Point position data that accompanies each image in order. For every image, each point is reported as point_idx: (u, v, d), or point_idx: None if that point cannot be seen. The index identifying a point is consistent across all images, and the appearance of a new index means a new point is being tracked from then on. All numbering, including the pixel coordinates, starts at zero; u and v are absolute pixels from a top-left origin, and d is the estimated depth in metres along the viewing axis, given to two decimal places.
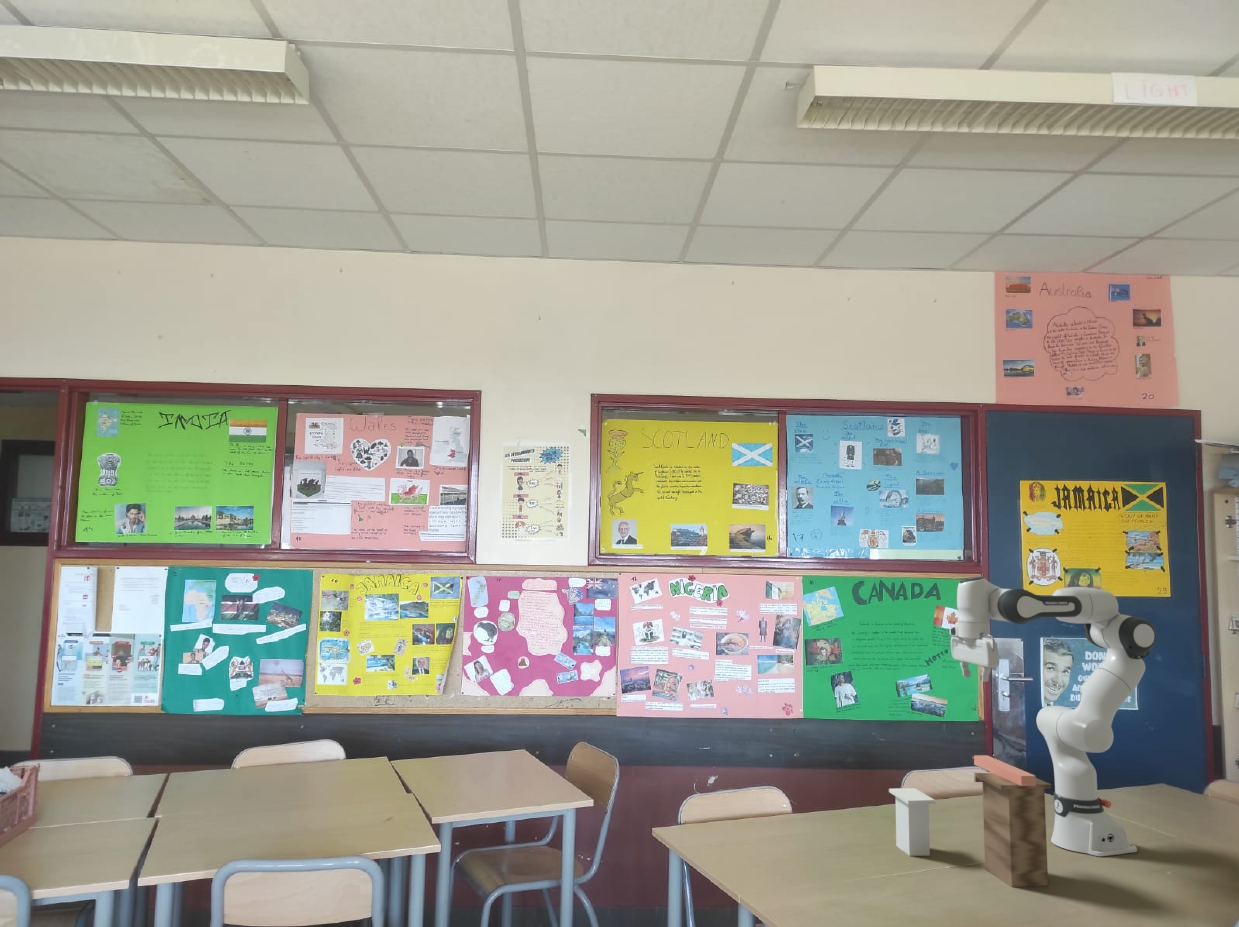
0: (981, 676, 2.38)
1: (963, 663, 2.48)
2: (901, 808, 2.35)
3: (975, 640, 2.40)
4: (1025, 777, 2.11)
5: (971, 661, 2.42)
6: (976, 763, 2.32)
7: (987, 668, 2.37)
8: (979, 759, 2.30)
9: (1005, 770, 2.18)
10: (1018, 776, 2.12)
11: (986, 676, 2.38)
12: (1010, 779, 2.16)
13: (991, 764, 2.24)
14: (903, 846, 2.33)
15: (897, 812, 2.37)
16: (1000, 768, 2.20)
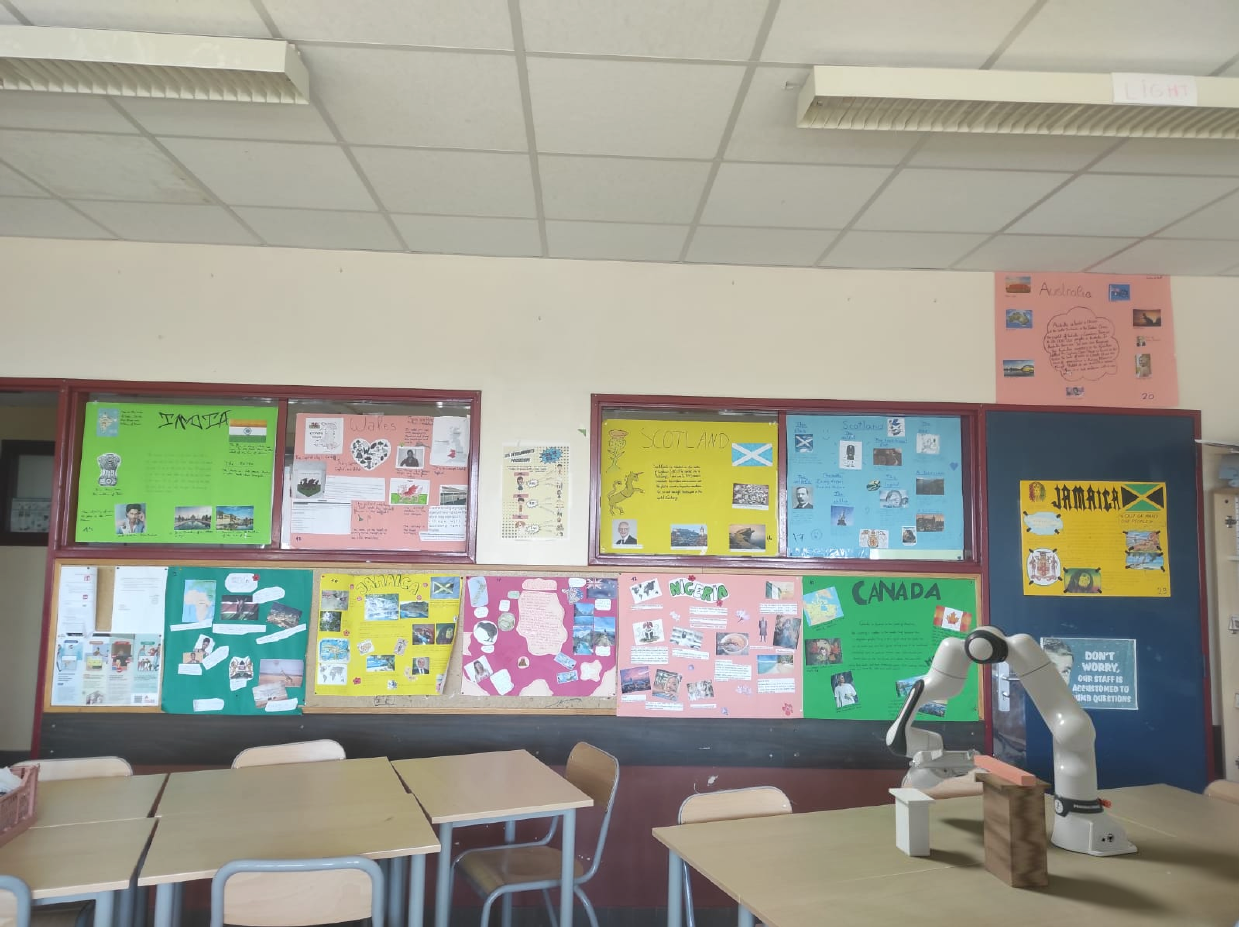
0: (942, 756, 2.45)
1: (969, 758, 2.48)
2: (901, 808, 2.35)
3: (931, 769, 2.52)
4: (1025, 777, 2.11)
5: (948, 763, 2.48)
6: (976, 763, 2.32)
7: (932, 755, 2.47)
8: (979, 759, 2.30)
9: (1005, 770, 2.18)
10: (1018, 776, 2.12)
11: (938, 752, 2.45)
12: (1010, 779, 2.16)
13: (991, 764, 2.24)
14: (903, 846, 2.33)
15: (897, 812, 2.37)
16: (1000, 768, 2.20)
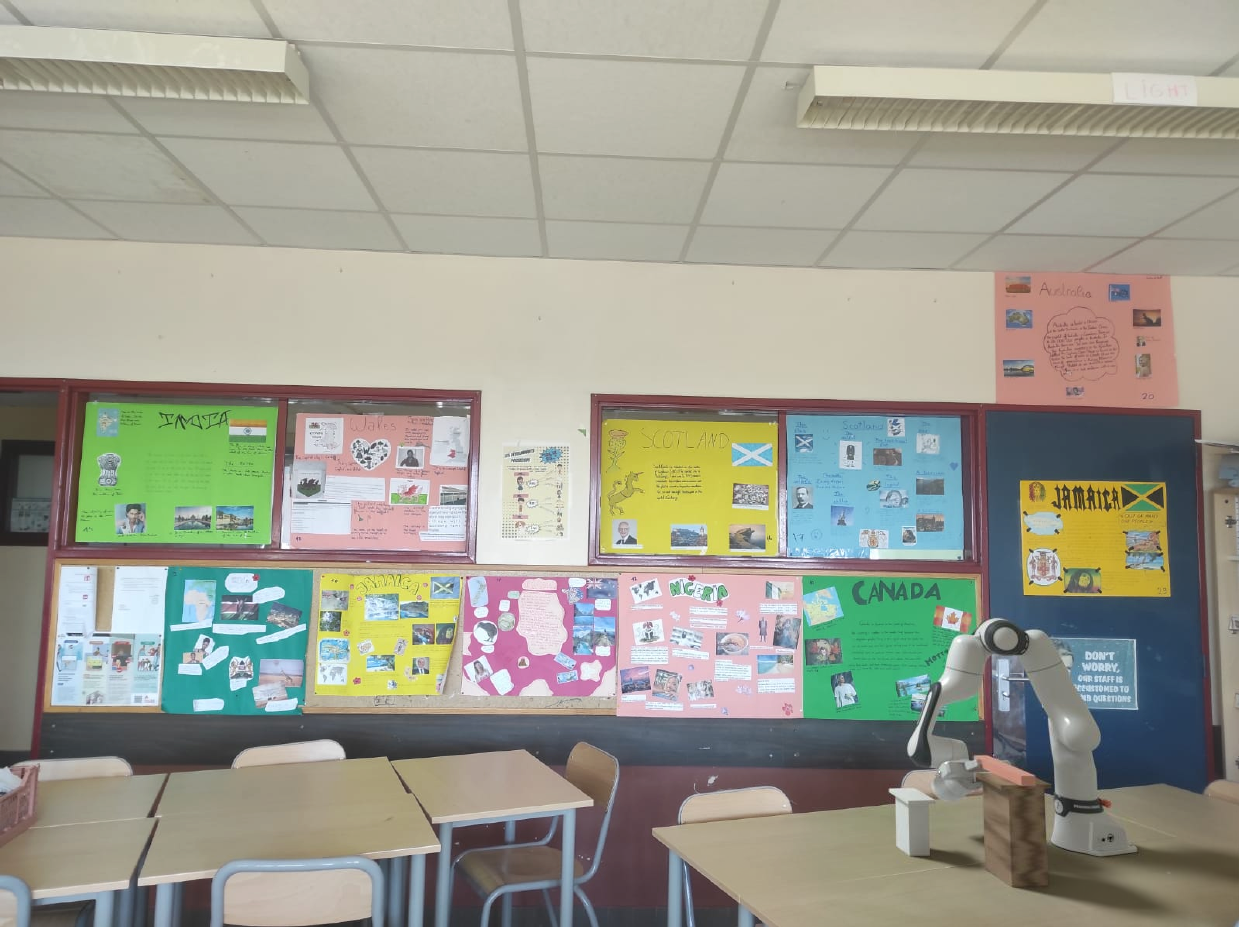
0: (977, 766, 2.30)
1: None
2: (901, 808, 2.35)
3: (959, 780, 2.37)
4: (1025, 777, 2.11)
5: None
6: None
7: (966, 766, 2.32)
8: None
9: (1005, 770, 2.18)
10: (1018, 776, 2.12)
11: (973, 762, 2.30)
12: (1010, 779, 2.16)
13: (991, 764, 2.24)
14: (903, 846, 2.33)
15: (897, 812, 2.37)
16: (1000, 768, 2.20)
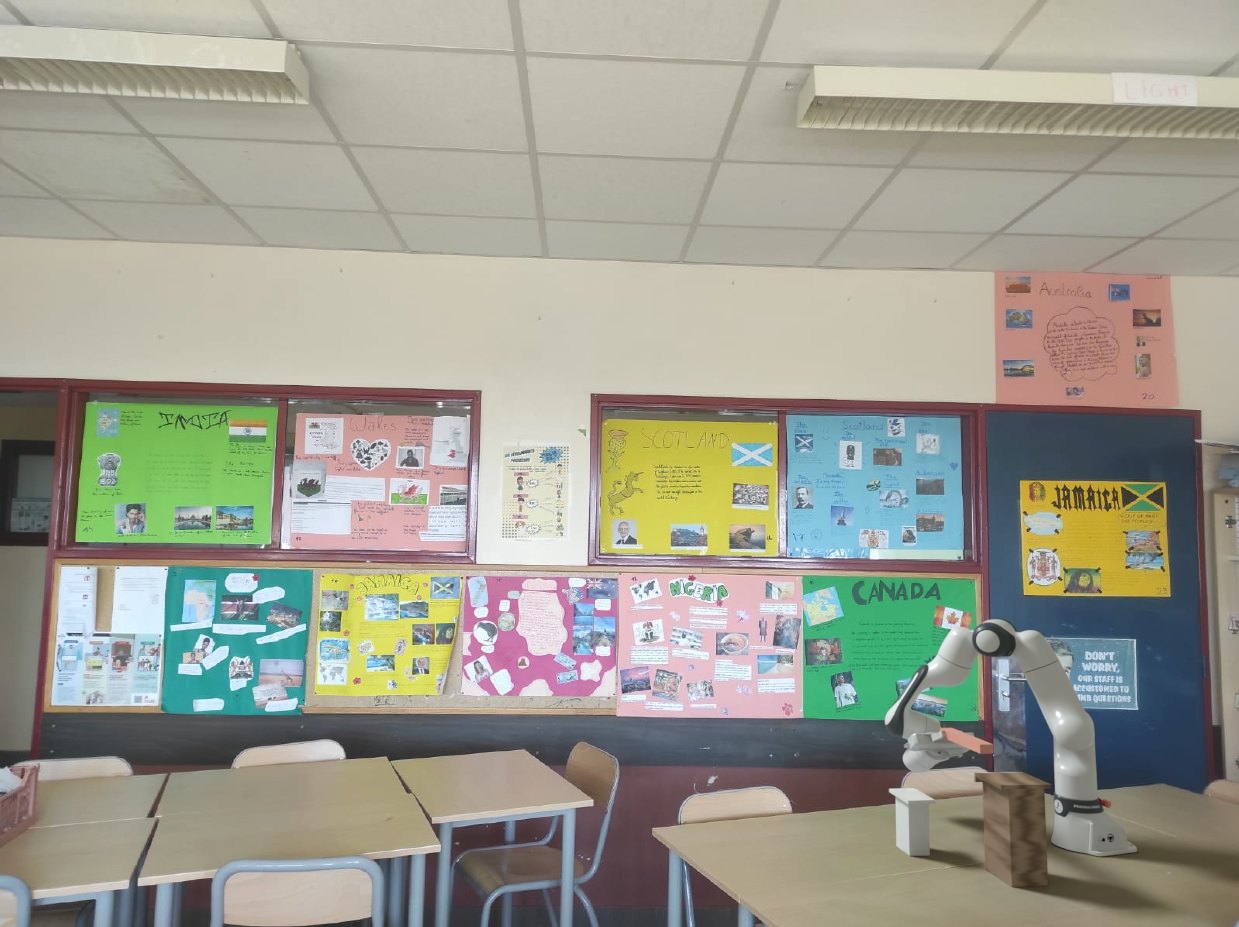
0: (942, 737, 2.48)
1: None
2: (901, 808, 2.35)
3: (926, 751, 2.55)
4: (983, 745, 2.30)
5: (942, 744, 2.51)
6: None
7: (932, 737, 2.50)
8: None
9: (966, 740, 2.36)
10: (977, 745, 2.31)
11: (939, 734, 2.49)
12: (970, 748, 2.34)
13: (954, 735, 2.43)
14: (903, 846, 2.33)
15: (897, 812, 2.37)
16: (962, 738, 2.38)
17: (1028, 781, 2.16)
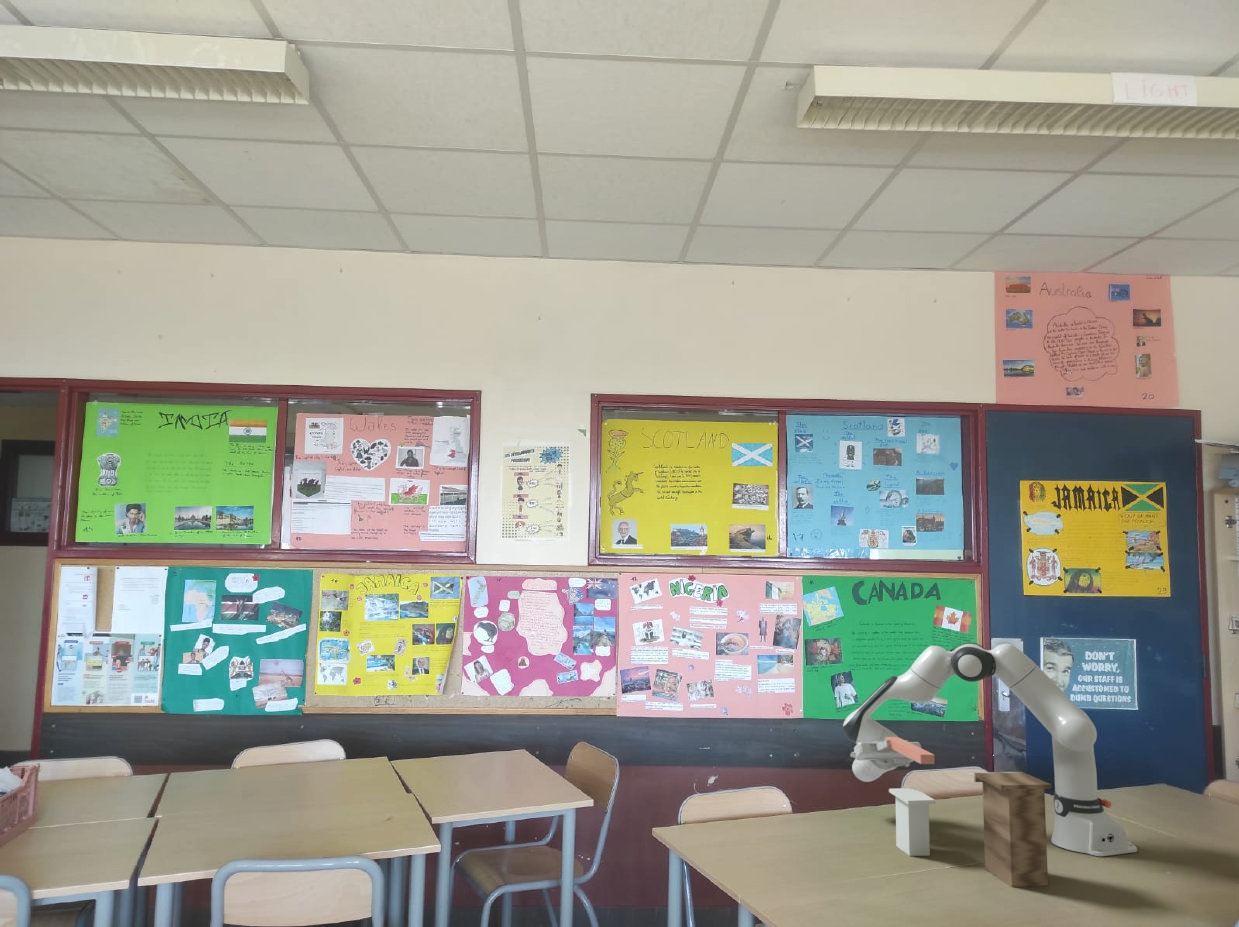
0: (887, 747, 2.45)
1: None
2: (901, 808, 2.35)
3: (872, 760, 2.53)
4: (924, 756, 2.27)
5: (888, 754, 2.48)
6: None
7: (877, 746, 2.48)
8: None
9: (908, 750, 2.34)
10: (918, 755, 2.28)
11: (884, 743, 2.46)
12: (912, 758, 2.31)
13: (898, 744, 2.40)
14: (903, 846, 2.33)
15: (897, 812, 2.37)
16: (905, 748, 2.36)
17: (1028, 781, 2.16)
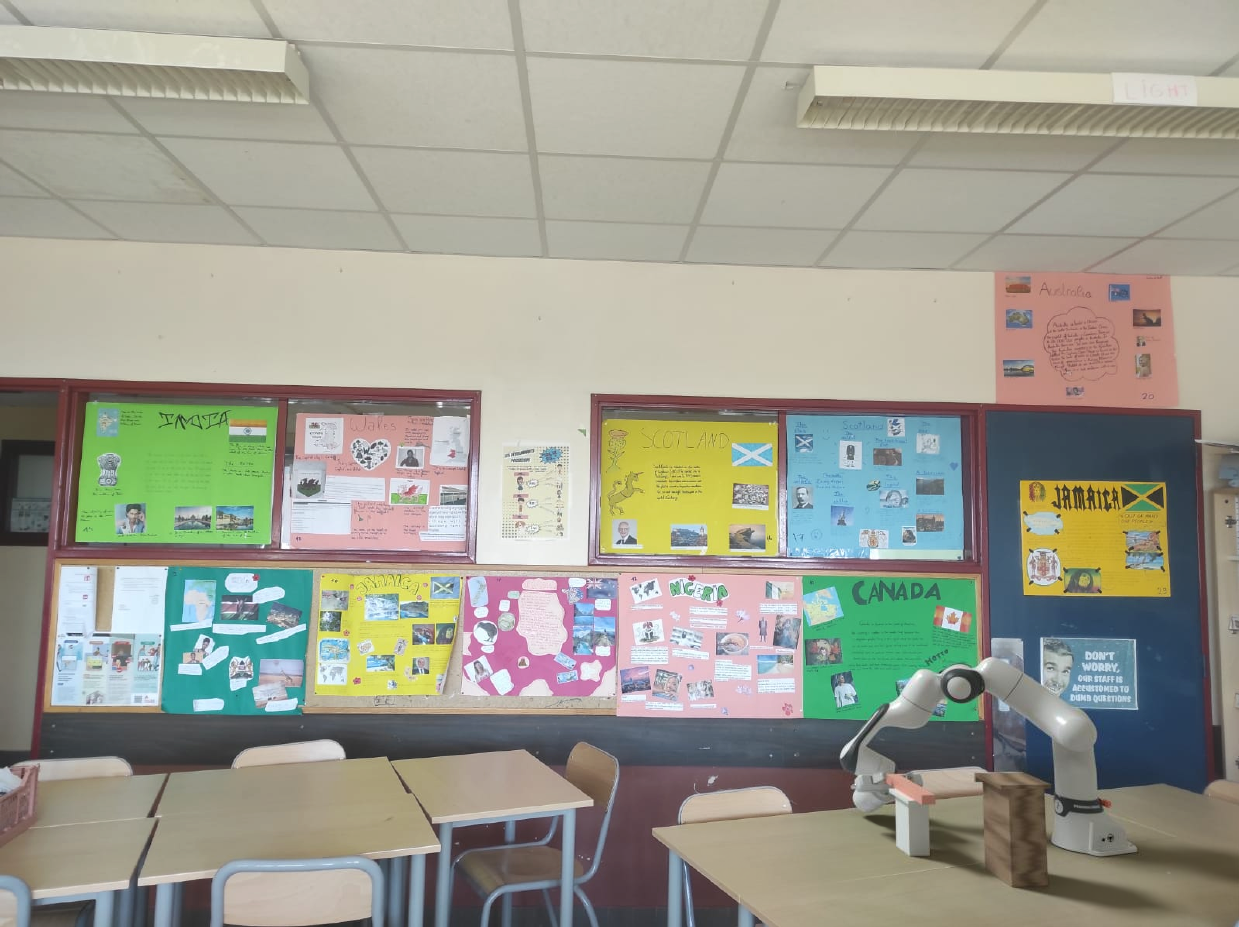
0: (883, 780, 2.44)
1: None
2: (901, 808, 2.35)
3: (873, 792, 2.52)
4: (925, 796, 2.26)
5: (889, 786, 2.47)
6: (887, 781, 2.46)
7: (873, 779, 2.46)
8: (890, 778, 2.45)
9: (909, 789, 2.33)
10: (919, 795, 2.27)
11: (879, 776, 2.45)
12: (913, 798, 2.30)
13: (899, 783, 2.39)
14: (903, 846, 2.33)
15: (897, 812, 2.37)
16: (906, 787, 2.35)
17: (1028, 781, 2.16)
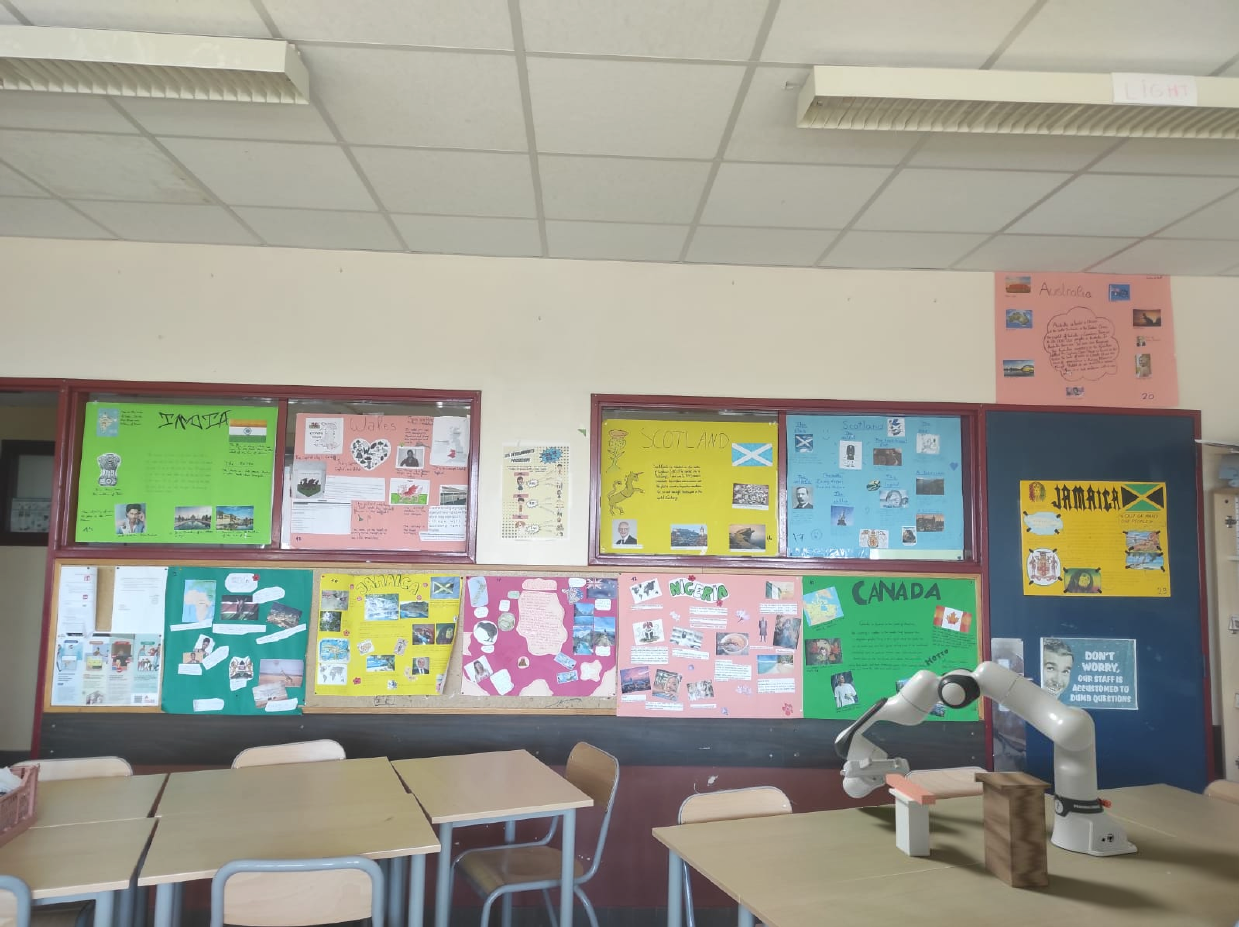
0: (869, 765, 2.54)
1: (896, 766, 2.57)
2: (901, 808, 2.35)
3: (861, 777, 2.62)
4: (925, 796, 2.26)
5: (876, 771, 2.57)
6: (887, 781, 2.46)
7: (860, 764, 2.56)
8: (890, 778, 2.45)
9: (909, 789, 2.33)
10: (919, 795, 2.27)
11: (865, 761, 2.54)
12: (913, 798, 2.30)
13: (899, 783, 2.39)
14: (903, 846, 2.33)
15: (897, 812, 2.37)
16: (906, 787, 2.35)
17: (1028, 781, 2.16)
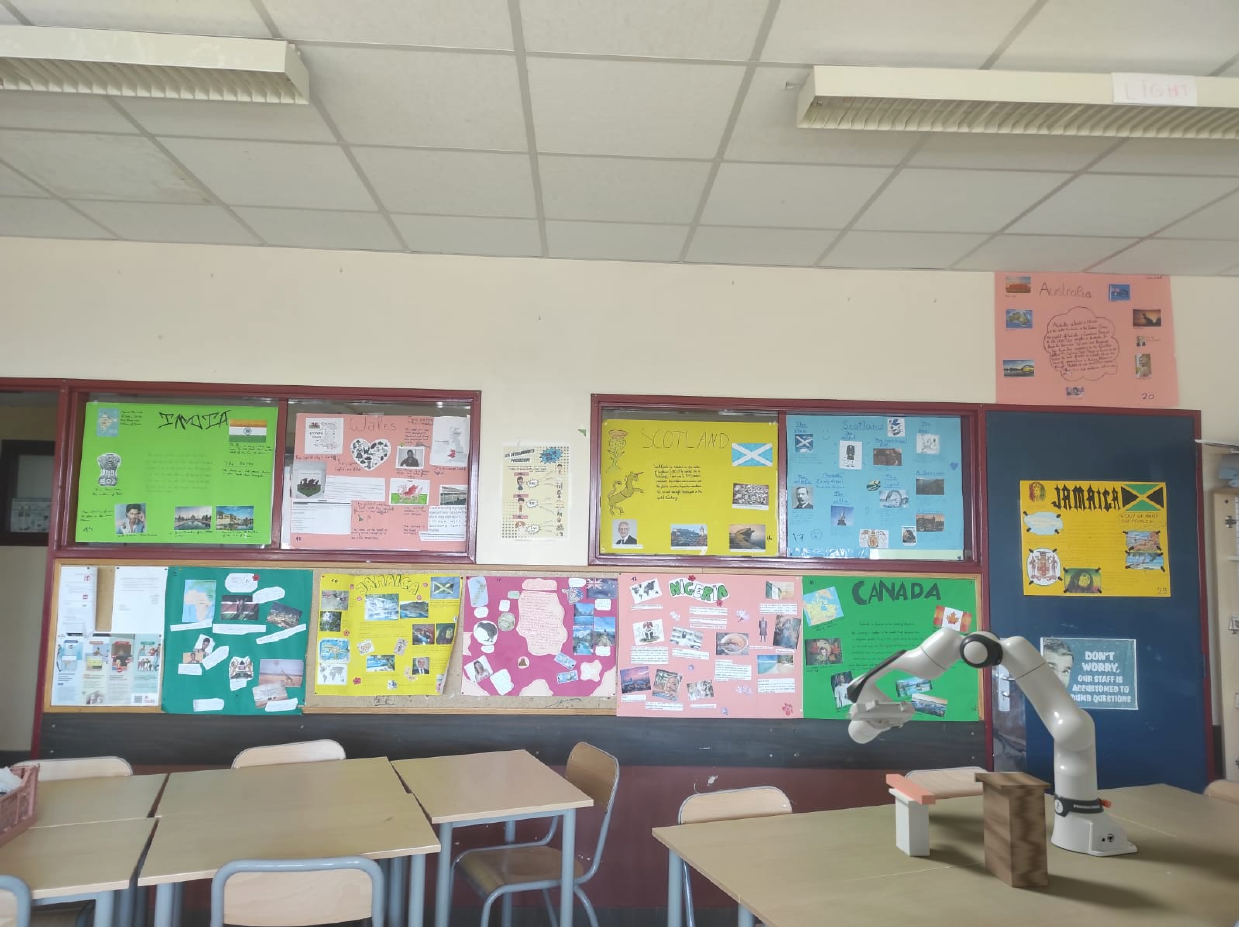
0: (875, 706, 2.54)
1: (902, 708, 2.58)
2: (901, 808, 2.35)
3: (867, 720, 2.62)
4: (925, 796, 2.26)
5: (882, 714, 2.57)
6: (887, 781, 2.46)
7: (866, 706, 2.57)
8: (890, 778, 2.45)
9: (909, 789, 2.33)
10: (919, 795, 2.27)
11: (872, 703, 2.55)
12: (913, 798, 2.30)
13: (899, 783, 2.39)
14: (903, 846, 2.33)
15: (897, 812, 2.37)
16: (906, 787, 2.35)
17: (1028, 781, 2.16)
